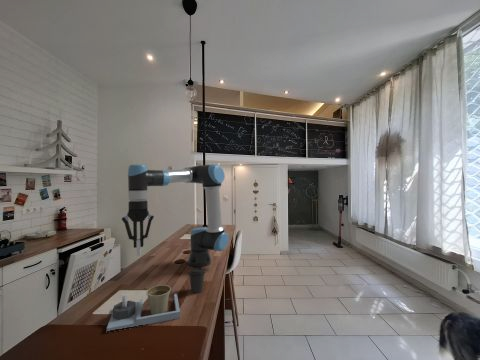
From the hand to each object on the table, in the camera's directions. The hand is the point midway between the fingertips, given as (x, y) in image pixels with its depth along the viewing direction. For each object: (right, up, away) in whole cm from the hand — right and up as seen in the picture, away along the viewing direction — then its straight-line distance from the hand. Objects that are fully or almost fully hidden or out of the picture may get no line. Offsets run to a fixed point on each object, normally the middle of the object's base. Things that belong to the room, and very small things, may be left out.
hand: (138, 254), depth 97 cm
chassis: (+7, -21, -8) cm, 23 cm away
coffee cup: (+23, -22, +12) cm, 34 cm away
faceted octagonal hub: (-1, -19, -10) cm, 22 cm away
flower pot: (+11, -21, -6) cm, 25 cm away
